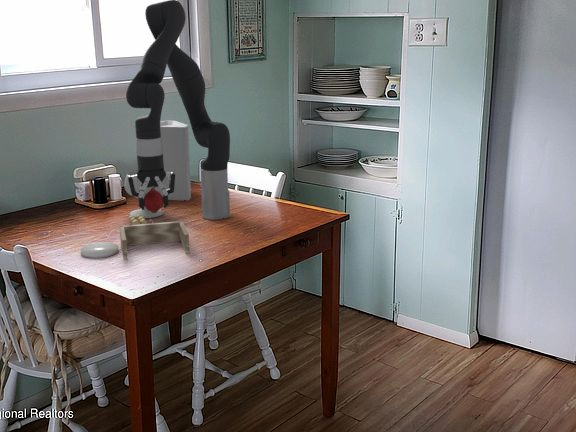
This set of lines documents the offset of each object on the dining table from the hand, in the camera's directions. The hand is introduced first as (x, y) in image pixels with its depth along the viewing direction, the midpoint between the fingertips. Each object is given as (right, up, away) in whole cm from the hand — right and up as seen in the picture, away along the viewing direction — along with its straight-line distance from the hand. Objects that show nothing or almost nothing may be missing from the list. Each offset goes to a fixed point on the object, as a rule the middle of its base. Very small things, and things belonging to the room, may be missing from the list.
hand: (153, 207), depth 205 cm
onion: (0, -2, +1) cm, 2 cm away
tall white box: (-7, +6, +65) cm, 66 cm away
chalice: (-10, -2, +39) cm, 40 cm away
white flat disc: (-16, -13, +1) cm, 21 cm away
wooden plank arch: (-1, -12, +4) cm, 13 cm away
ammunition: (-8, -7, +22) cm, 25 cm away
